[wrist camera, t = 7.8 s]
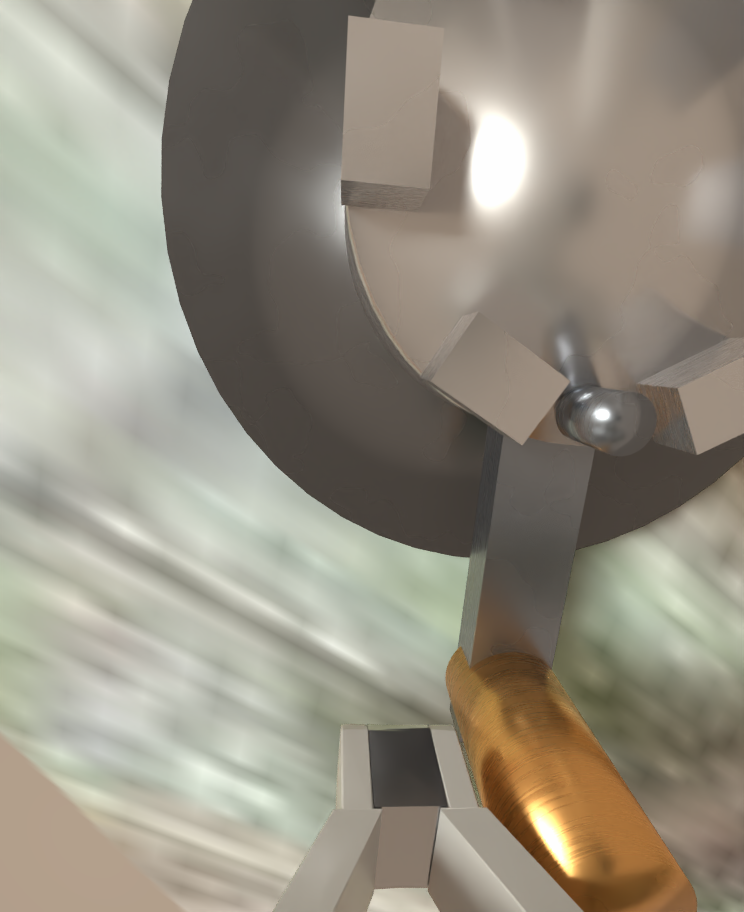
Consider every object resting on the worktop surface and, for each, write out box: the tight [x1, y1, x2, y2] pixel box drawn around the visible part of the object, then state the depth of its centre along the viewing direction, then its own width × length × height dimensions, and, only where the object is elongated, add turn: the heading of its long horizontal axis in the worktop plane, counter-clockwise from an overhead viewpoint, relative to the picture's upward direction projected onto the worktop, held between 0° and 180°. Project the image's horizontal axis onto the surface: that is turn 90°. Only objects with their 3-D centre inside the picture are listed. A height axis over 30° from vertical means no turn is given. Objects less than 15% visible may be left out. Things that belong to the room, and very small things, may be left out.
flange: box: [161, 0, 744, 557], centre depth 11 cm, size 17×17×2 cm
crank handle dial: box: [341, 0, 744, 912], centre depth 8 cm, size 17×9×6 cm, turn 176°
